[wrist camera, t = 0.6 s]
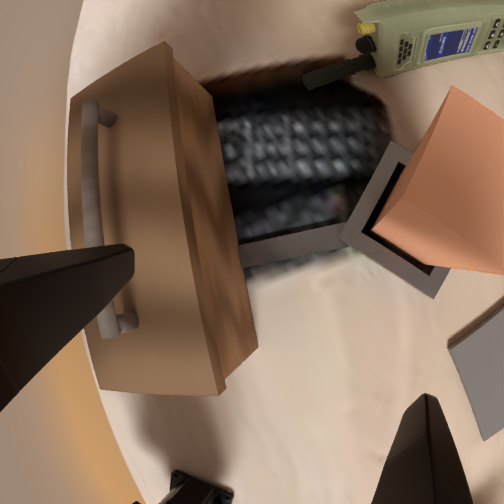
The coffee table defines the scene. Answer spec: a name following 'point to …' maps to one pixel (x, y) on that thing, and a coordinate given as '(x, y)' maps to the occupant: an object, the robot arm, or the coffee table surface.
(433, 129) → the salmon orange rectangular block
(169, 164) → the walnut toolbox
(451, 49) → the handheld radio
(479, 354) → the charcoal mat
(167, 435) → the coffee table surface
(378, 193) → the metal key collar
